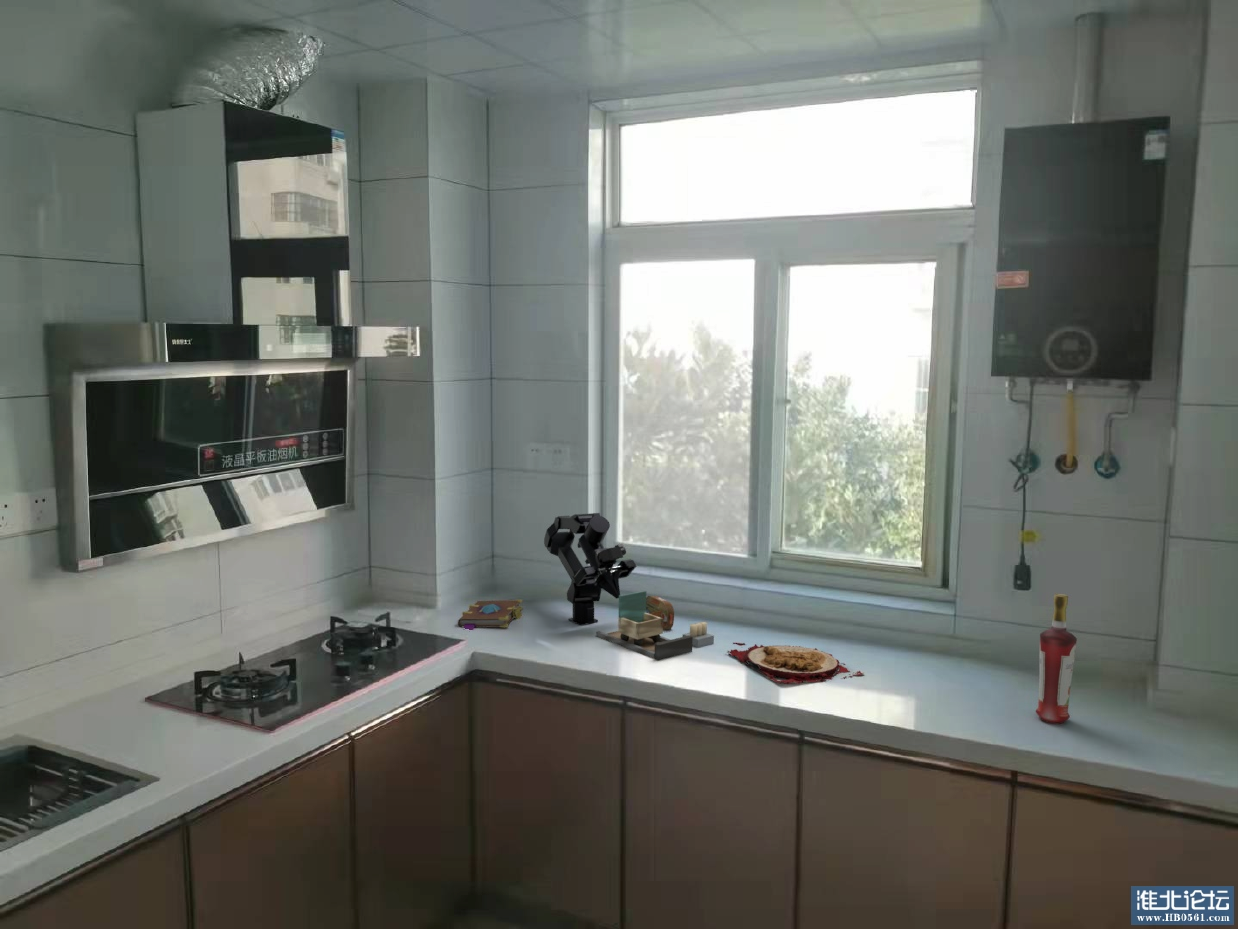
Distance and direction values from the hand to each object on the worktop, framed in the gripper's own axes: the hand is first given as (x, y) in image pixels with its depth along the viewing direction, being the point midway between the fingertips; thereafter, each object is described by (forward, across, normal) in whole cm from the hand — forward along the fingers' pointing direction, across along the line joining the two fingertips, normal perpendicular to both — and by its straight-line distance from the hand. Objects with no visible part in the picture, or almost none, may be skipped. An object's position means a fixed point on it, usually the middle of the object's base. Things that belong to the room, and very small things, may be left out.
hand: (618, 597), depth 263 cm
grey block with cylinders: (+21, +12, -6) cm, 25 cm away
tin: (+8, +16, +9) cm, 20 cm away
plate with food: (+40, +22, -23) cm, 51 cm away
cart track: (+15, 0, 0) cm, 15 cm away
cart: (+14, 0, +1) cm, 14 cm away
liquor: (+82, +38, -66) cm, 112 cm away
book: (-16, -19, +33) cm, 42 cm away
